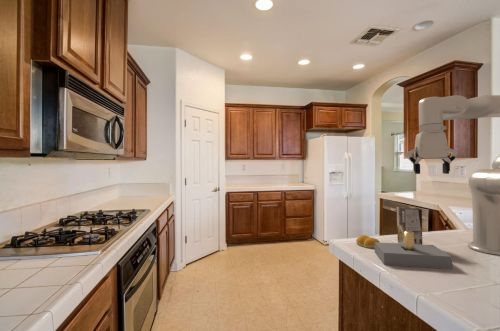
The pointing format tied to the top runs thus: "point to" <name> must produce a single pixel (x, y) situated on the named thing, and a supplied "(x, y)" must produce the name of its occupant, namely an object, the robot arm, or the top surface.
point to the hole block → (413, 255)
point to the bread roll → (366, 241)
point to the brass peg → (408, 241)
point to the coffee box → (409, 223)
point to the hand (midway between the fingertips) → (431, 173)
